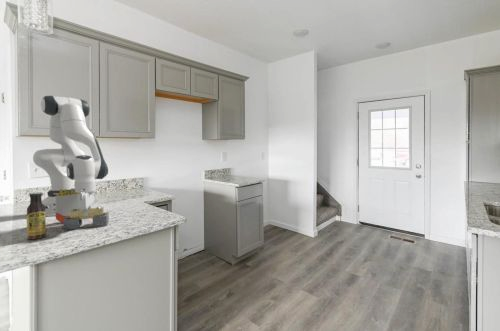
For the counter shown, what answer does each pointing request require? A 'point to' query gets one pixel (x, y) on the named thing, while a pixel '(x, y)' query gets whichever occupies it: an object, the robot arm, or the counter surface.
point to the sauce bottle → (36, 217)
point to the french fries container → (65, 204)
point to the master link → (91, 211)
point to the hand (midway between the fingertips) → (87, 214)
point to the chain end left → (71, 223)
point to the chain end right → (101, 220)
